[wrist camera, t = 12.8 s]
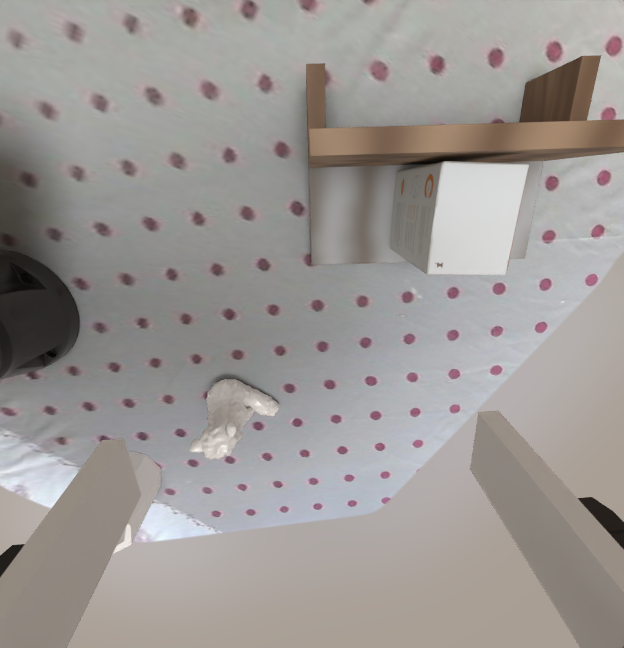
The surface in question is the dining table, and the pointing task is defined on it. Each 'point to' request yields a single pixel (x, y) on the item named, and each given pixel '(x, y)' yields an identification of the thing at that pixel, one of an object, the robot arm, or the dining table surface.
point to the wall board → (439, 159)
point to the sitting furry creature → (230, 416)
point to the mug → (149, 486)
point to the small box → (457, 216)
